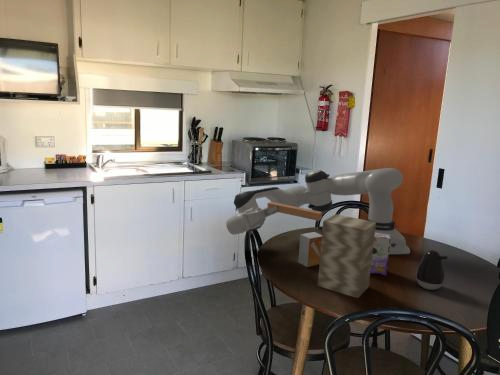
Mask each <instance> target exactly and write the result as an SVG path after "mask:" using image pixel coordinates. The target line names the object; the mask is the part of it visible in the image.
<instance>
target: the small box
mask: <svg viewBox="0 0 500 375" xmlns="http://www.w3.org/2000/svg"><path fill="white" fill-rule="evenodd" d="M321 242H322V234H320V233H318V232H316V231H312V232H305V233H301V234H300V235H299V249H298V259H297V260H298V261H297V263H298V264H301V265H302V266H304V267H306V268H309V267H314V266H317V265H320V253H321Z"/></svg>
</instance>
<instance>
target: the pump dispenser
mask: <svg viewBox="0 0 500 375" xmlns="http://www.w3.org/2000/svg"><path fill="white" fill-rule="evenodd" d="M447 259H449V258H448V256H447V255H441V254H440V253H439V252H438V251H437V250H435V249H429V250H427V252H425V254H424V255H423V256H422V258H421V259H420V261H419V263H418V266H417V269H416V272H415V277H416V278H415V279H416V281H417V283H418V285H419V286H420V287H422V288H423V289H425V290H429V291H434V290H438V289H440V288H441V287H442V286H443V284H444V282H445V266H444V262H443V260H447Z"/></svg>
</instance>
